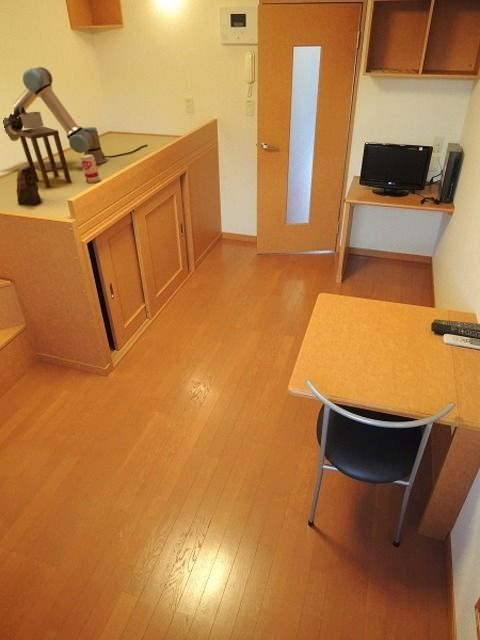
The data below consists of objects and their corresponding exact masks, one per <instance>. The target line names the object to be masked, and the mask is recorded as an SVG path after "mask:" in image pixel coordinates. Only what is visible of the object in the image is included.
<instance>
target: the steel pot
mask: <svg viewBox="0 0 480 640" xmlns="http://www.w3.org/2000/svg"><path fill="white" fill-rule="evenodd" d="M41 114H42V113H41V111H30V112H29V111H28V112H26V113H24V112H20V114H19V116H21V119H22V123H23V129H32V128H38V127H43V126H44V127H45V124H44V122H43V118H42V115H41Z"/></svg>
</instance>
